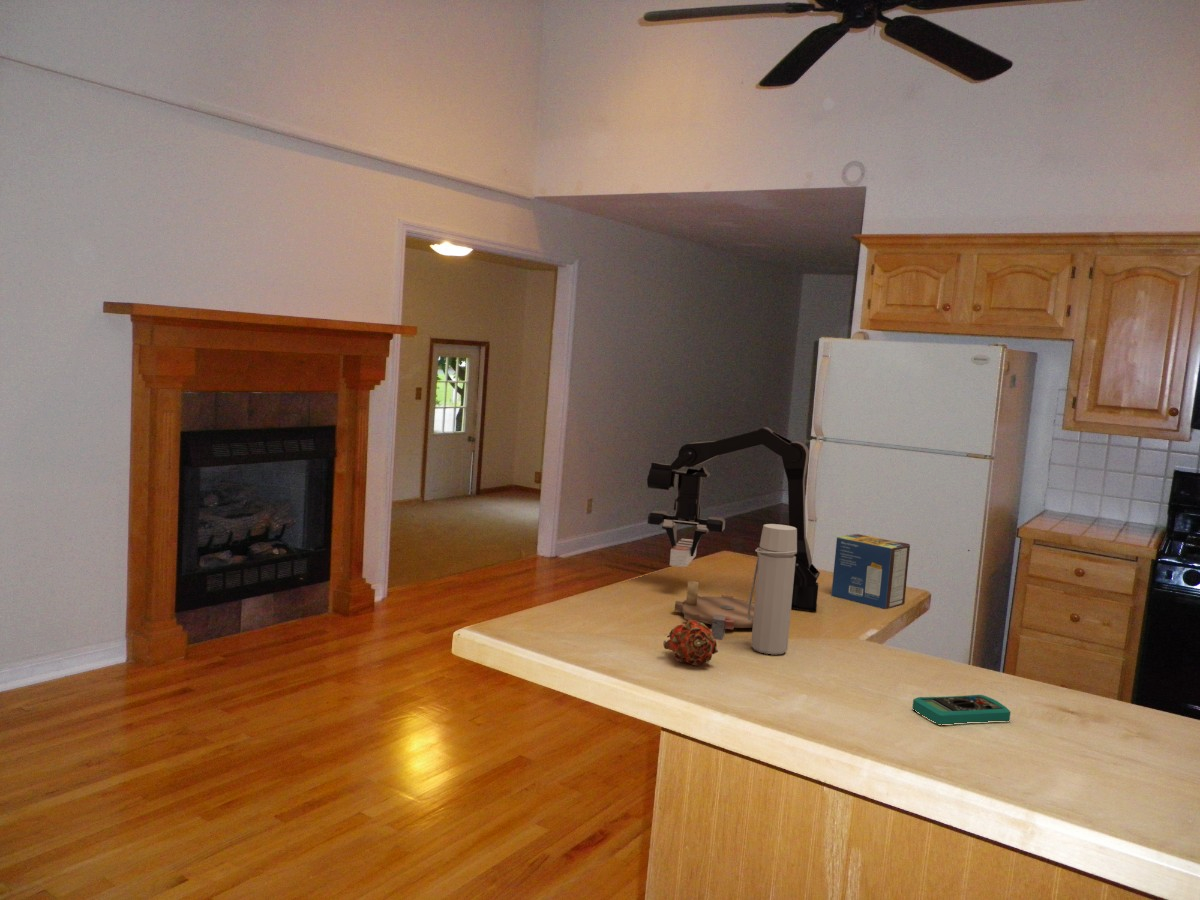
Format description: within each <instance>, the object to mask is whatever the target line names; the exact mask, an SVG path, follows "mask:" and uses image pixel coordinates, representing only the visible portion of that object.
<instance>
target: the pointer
mask: <svg viewBox="0 0 1200 900" xmlns="http://www.w3.org/2000/svg"><path fill="white" fill-rule="evenodd" d="M725 628H726V616H724V615H717V614H715V615H714V617H713V619H712V624H711V630H710V631H711V632H712V634H713V637H714V639H715V640H722V639H723V640H724V638H725V635H726V629H725Z"/></svg>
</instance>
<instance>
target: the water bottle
mask: <svg viewBox="0 0 1200 900" xmlns="http://www.w3.org/2000/svg"><path fill="white" fill-rule="evenodd" d="M755 552H756V554H757V555H756V556H757V559H756V563H755V569H754V574H753V580H752V584H751V589H750V594H749V599H748V601H749V604H748V620H749V621H751V622H752V621H753V627H752V630H751V631H752V632H751V639H750V640H751V641H750V643H751V644H750V645H751V647H752V648H753V650H754V651H756V652H758V653H760V654H763V653H764V655H768V654H771V656H778V654H779V655H782V654H785V652H787V650H788V647H789V646H788V645H789V635H790V624H791V614H792V613H791V612H792V609H791V605H792V594H793V583H794V573H795V562H796V557H795V556H794V554H796V553H797V529H796V528H795V527H792V526H789V525H785V524H778V523H777V524H776V523H766V524H763V527H762V529H761V536H760V542H759V547H756V549H755ZM754 589H755V596H754ZM753 596H754V597H755V598H754V602H755V607H754V618H753V620H751V617H750V607H751V602H753V601H752V600H753Z"/></svg>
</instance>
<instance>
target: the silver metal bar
mask: <svg viewBox="0 0 1200 900" xmlns="http://www.w3.org/2000/svg"><path fill="white" fill-rule="evenodd" d="M692 544H693V539H689V538H681V539H679V540H678V541H677V544H676V545H675V546H673V547H672V546H671V548H670V556H669V566H671V567H672V566H673V567H679V568H687V567H688V566H689V564H691V562H692V561H693V560H694V558H695V557H696V556H697V548H698V547H697V548H696V550H695V553H694V555H693V556H691V550H692Z"/></svg>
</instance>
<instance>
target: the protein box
mask: <svg viewBox="0 0 1200 900" xmlns="http://www.w3.org/2000/svg"><path fill="white" fill-rule="evenodd" d="M910 548H911V544H910V543H907V542H906V543H905V542H902V541H895V540H890V539H884V538H880V537H874V536H870V535H864V534H859V533H854V534H848V535H839V536H836V543H835V554H834V565H833V575H832V584H831V591H830V594H831V597H836V598H838V599H843V600H847V601H851V602H854V603H859V604H863V605H866V606H871V607H874V608H878V609H882V610H887V609H890V608H894V606H895V607H898V606H902V605H905V602H906V590H907V582H908V569H909V560H910V559H909V558H910V551H911V550H910ZM897 605H898V606H897Z"/></svg>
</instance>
